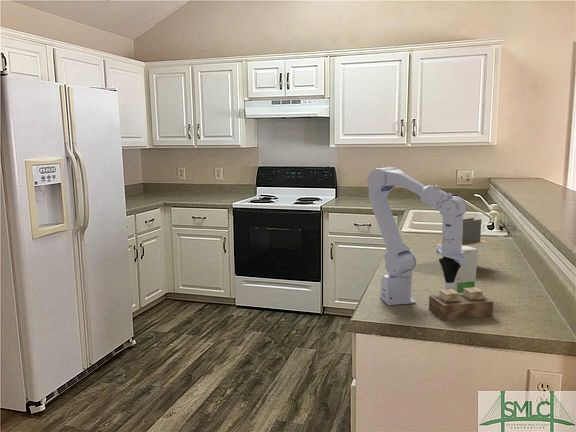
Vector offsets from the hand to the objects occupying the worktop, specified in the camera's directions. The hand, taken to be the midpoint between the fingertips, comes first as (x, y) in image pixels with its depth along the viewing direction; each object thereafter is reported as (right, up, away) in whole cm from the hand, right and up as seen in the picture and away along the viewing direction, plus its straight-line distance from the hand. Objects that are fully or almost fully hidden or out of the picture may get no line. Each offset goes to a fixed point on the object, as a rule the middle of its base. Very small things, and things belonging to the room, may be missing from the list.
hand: (449, 282), depth 144 cm
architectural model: (+21, -2, +50) cm, 55 cm away
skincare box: (+11, -6, +22) cm, 25 cm away
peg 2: (+8, -7, +3) cm, 11 cm away
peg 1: (0, -7, +1) cm, 7 cm away
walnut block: (+4, -10, +3) cm, 11 cm away
